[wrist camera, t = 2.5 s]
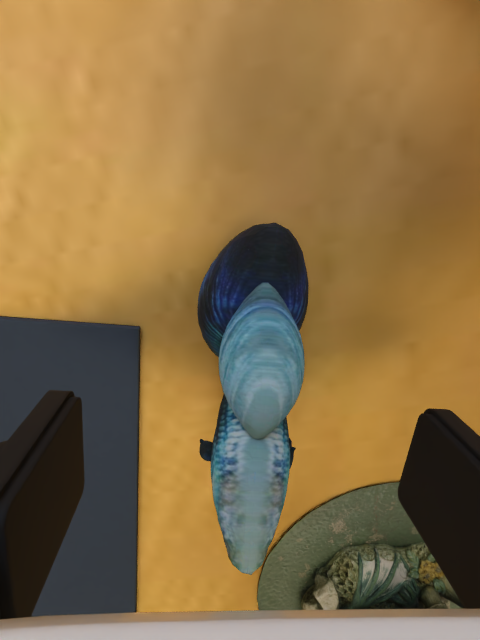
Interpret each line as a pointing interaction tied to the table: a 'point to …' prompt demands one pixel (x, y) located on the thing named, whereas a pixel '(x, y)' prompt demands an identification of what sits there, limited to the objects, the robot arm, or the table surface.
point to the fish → (254, 381)
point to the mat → (99, 451)
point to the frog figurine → (355, 559)
